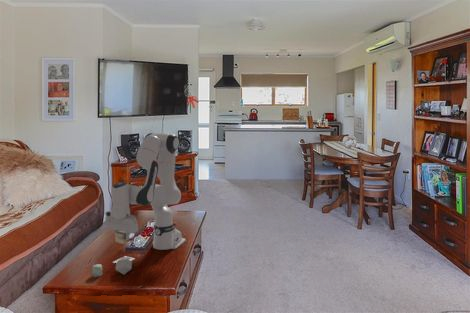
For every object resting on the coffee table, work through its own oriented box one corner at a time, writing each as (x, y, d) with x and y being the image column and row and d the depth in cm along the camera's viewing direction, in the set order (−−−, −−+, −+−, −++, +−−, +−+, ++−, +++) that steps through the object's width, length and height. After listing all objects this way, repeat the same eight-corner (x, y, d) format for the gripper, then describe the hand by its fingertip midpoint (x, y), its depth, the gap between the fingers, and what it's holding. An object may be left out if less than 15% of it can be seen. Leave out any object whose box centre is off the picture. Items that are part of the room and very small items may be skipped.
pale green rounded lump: (97, 272, 207) (96, 263, 207) (104, 273, 206) (103, 264, 205) (91, 276, 203) (90, 267, 202) (98, 277, 201) (97, 268, 200)
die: (135, 274, 207) (135, 256, 211) (124, 272, 200) (124, 253, 204) (123, 277, 209) (123, 259, 214) (112, 275, 202) (112, 257, 207)
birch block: (122, 239, 208) (122, 230, 207) (129, 240, 206) (128, 231, 205) (115, 242, 204) (115, 233, 203) (122, 243, 201) (122, 234, 201)
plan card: (125, 256, 228) (125, 255, 228) (135, 259, 225) (135, 258, 225) (112, 262, 220) (112, 261, 220) (122, 265, 216) (122, 264, 216)
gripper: (140, 214, 200) (141, 239, 202) (111, 209, 210) (113, 233, 212) (131, 217, 195) (132, 243, 197) (102, 212, 205) (104, 237, 207)
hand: (122, 238), depth 205 cm, fingers closed on birch block, 5 cm apart
